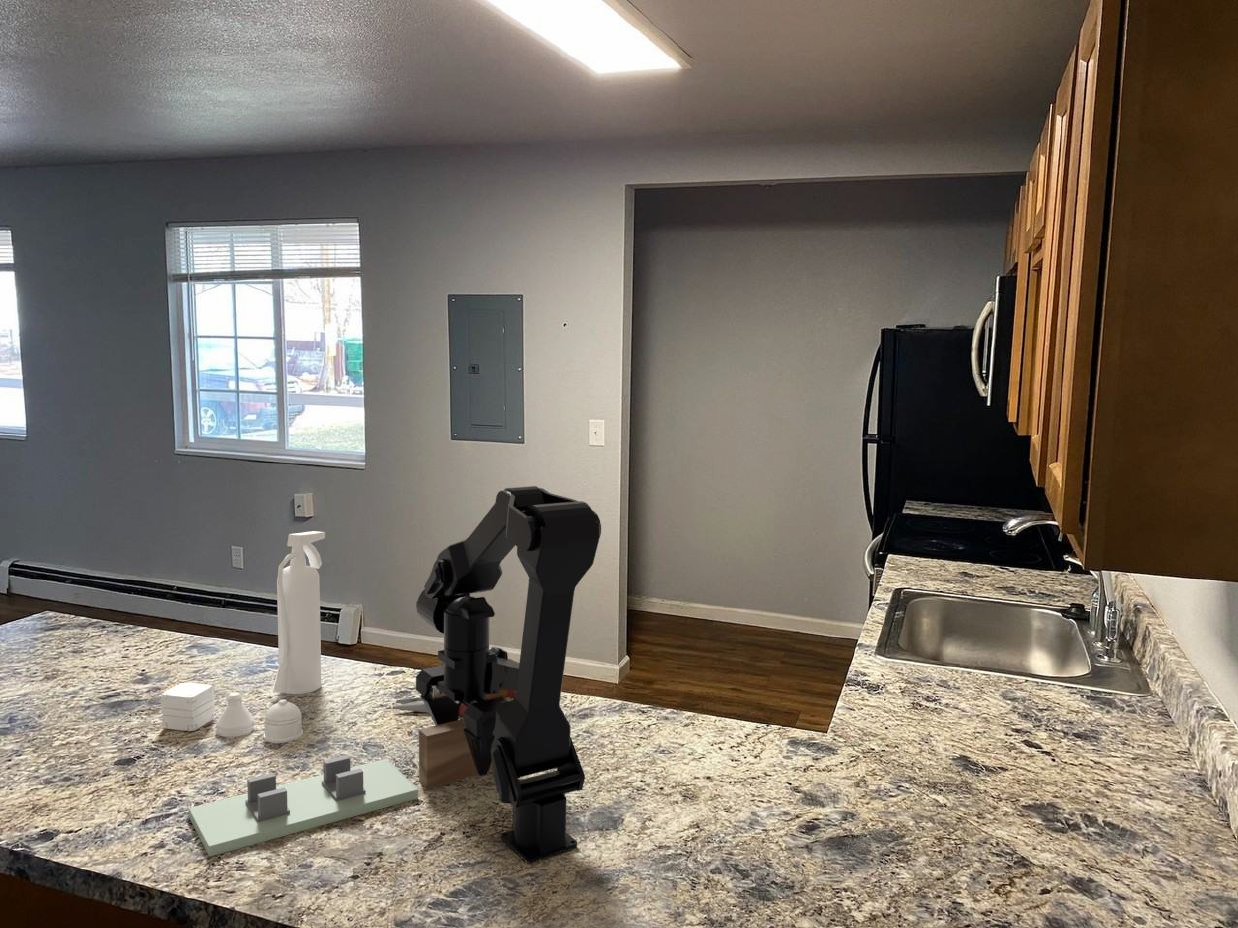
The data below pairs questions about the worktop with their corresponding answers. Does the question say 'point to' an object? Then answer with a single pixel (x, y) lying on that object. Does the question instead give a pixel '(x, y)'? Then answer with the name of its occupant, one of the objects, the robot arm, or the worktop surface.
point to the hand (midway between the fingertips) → (466, 761)
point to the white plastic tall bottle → (299, 617)
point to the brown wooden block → (445, 754)
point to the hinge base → (299, 804)
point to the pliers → (419, 706)
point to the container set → (226, 714)
